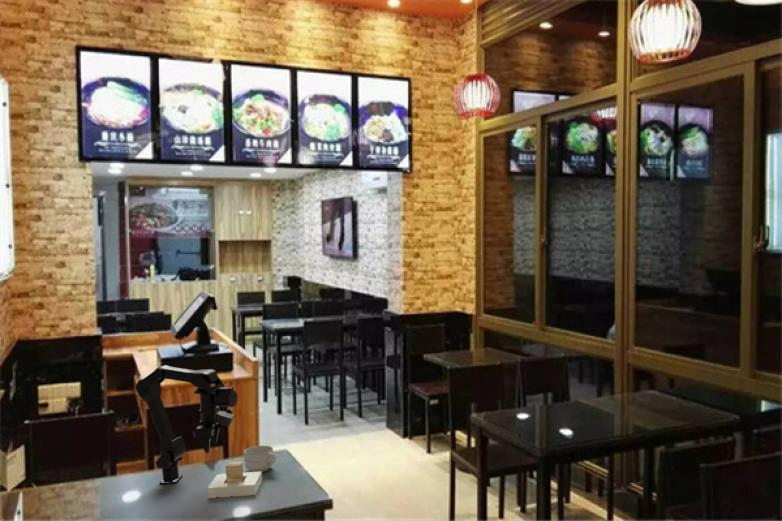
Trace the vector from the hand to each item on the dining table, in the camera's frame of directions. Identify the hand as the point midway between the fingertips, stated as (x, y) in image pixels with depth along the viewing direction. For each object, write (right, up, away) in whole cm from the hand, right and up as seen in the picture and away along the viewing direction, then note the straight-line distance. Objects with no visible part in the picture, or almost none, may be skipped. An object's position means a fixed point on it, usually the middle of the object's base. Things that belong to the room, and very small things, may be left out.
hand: (211, 448), depth 225 cm
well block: (+11, -12, -7) cm, 18 cm away
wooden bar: (+11, -12, -7) cm, 18 cm away
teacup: (+17, -11, +9) cm, 22 cm away
